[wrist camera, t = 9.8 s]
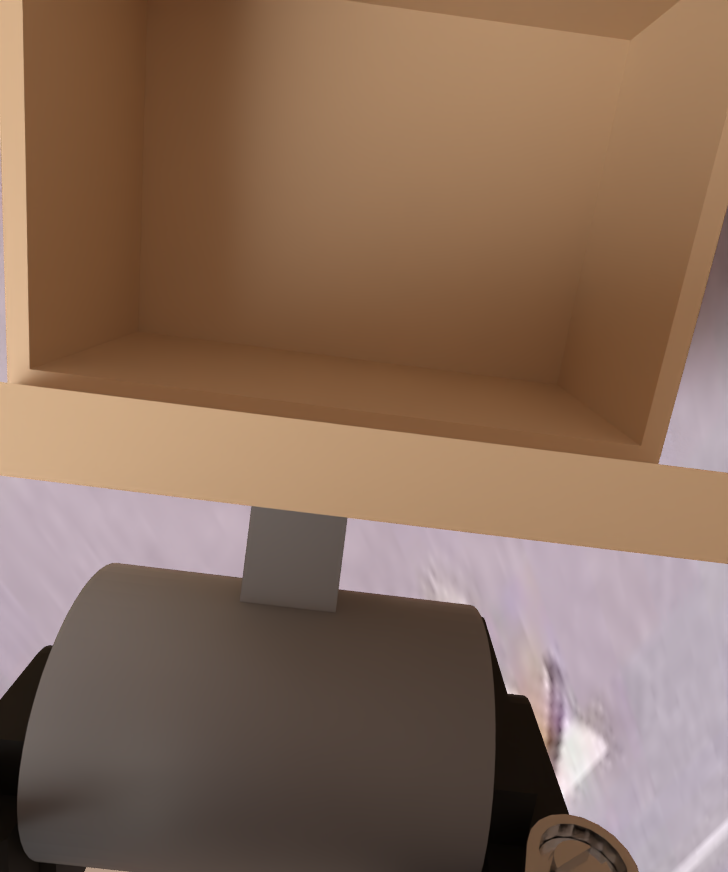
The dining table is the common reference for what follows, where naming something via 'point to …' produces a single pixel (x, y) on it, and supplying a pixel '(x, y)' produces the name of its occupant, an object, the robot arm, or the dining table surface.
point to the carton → (367, 209)
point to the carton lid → (294, 639)
